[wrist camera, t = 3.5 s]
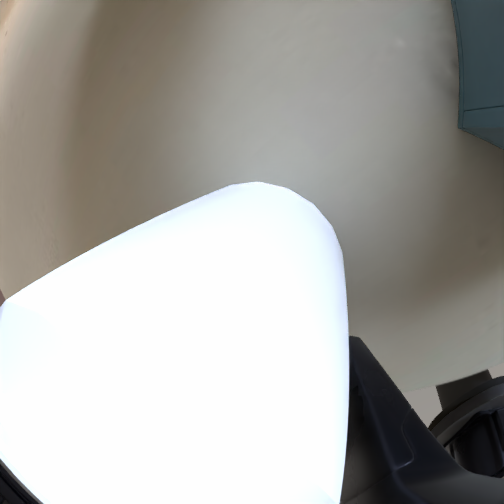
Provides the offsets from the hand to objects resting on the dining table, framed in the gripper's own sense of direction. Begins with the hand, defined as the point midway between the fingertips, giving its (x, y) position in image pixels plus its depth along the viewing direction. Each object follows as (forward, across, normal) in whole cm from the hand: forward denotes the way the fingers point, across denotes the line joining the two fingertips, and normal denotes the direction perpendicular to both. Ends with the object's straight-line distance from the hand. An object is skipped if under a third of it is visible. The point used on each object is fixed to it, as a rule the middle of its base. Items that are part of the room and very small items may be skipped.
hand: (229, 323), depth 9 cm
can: (+5, 0, 0) cm, 5 cm away
